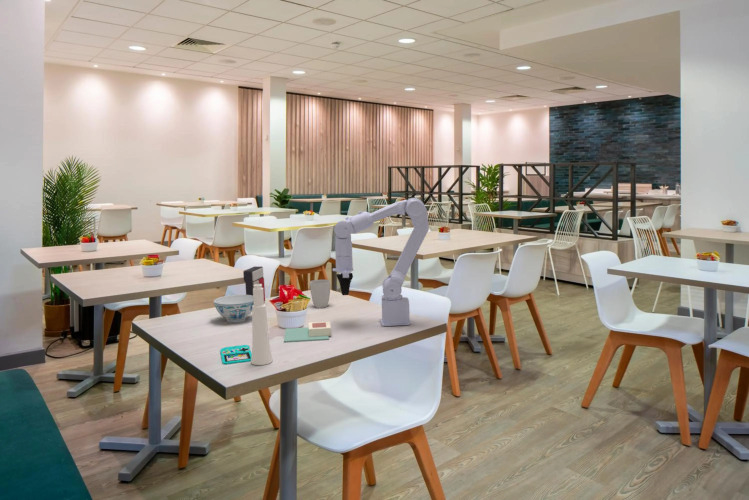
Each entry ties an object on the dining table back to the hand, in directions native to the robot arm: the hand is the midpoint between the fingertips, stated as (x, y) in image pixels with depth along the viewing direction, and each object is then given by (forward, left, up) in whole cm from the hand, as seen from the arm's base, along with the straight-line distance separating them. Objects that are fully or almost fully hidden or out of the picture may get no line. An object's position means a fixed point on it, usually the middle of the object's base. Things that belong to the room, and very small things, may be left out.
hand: (345, 294), depth 187 cm
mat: (+14, +10, -10) cm, 20 cm away
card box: (+6, +10, -9) cm, 15 cm away
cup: (+8, -28, -11) cm, 31 cm away
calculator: (+34, -36, -11) cm, 51 cm away
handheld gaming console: (+34, +26, -11) cm, 44 cm away
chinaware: (+39, -14, -11) cm, 43 cm away
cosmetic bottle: (+26, +34, -11) cm, 44 cm away
